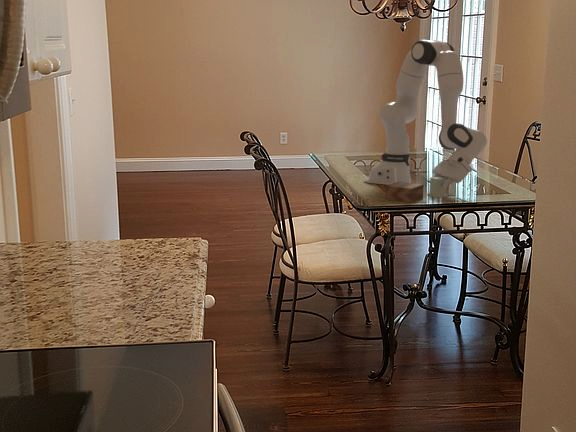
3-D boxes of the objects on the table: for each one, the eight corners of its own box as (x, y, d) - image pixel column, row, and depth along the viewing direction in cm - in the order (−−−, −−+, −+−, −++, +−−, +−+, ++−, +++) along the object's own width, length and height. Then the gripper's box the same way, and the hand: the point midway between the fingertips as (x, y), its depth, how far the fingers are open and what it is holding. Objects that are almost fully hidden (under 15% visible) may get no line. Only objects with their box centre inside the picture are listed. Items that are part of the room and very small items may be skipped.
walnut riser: (385, 199, 303) (385, 185, 301) (397, 195, 312) (398, 181, 311) (411, 202, 296) (411, 188, 295) (423, 198, 306) (423, 184, 304)
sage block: (434, 197, 306) (435, 179, 304) (427, 194, 311) (428, 177, 310) (447, 196, 307) (448, 178, 306) (440, 194, 313) (441, 176, 312)
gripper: (442, 154, 317) (421, 176, 317) (466, 160, 298) (444, 184, 298) (450, 163, 320) (430, 185, 319) (474, 170, 301) (453, 194, 300)
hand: (437, 185), depth 308 cm, fingers open, 8 cm apart
